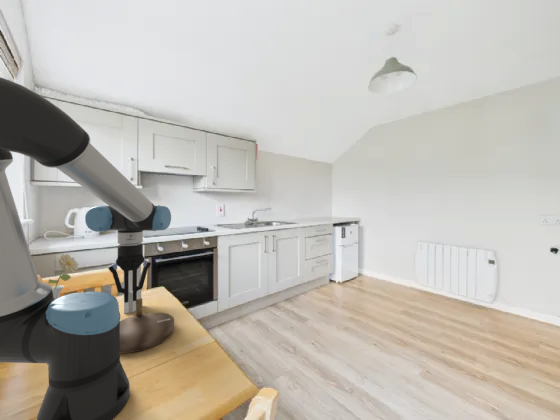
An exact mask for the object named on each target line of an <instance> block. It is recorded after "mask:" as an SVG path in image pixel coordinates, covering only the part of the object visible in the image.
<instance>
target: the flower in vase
mask: <svg viewBox="0 0 560 420" xmlns="http://www.w3.org/2000/svg"><path fill="white" fill-rule="evenodd" d="M58 265H59V266H60V269H61V271H60V273H59V277H58V279H57V280H54V279H49V280H48V283H47V284H55V285H53V286H51V288H52V291H53V294H54V298H55V299H57V298H59V297H61V292H62V290H63V289H64V288H65V285H63V284H61V285H58V283H60V282H59V281H60V280H62V281H65V282H67V281H69V280H70V279H71V275H69V274H76V271H79V263H78V262H77V261H76V260H75V257H71V255H70V254H67V253H66V254H64V253H62V255H60V257H59V258H58ZM63 271H64V272H65V273H63ZM68 273H69V274H68Z"/></svg>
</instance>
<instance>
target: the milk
mask: <svg viewBox="0 0 560 420" xmlns="http://www.w3.org/2000/svg"><path fill="white" fill-rule="evenodd" d="M141 274H142V264H141V265H140V267H139V268H138V269H137V286H138V285H139V281H140V277H141ZM128 291H132V270H130V271H129V274H128ZM138 298H142V289H141V290H138V291H137V299H138ZM123 313H124V314H128V313H131V312H128V302H126V303H125V302H124V301H123ZM132 313H136V301H133V312H132Z"/></svg>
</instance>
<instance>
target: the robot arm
mask: <svg viewBox="0 0 560 420" xmlns="http://www.w3.org/2000/svg"><path fill="white" fill-rule="evenodd" d="M13 153H17V154H21V155H24V156H26V157H29V158H31V159H32V160H34V161H36V162H37V163H39V164H40V165H42V166H44V167H46V168H51V169H53V168H56V169H57V170H59V172H61V173H63V174H64V175H65V176H67V177H68V178H70V179H71V180H73V181H74V182H75V183H77V184H78V185H80V186H81V187H83V188H84V189H85V190H87V192H90V193H91V194H92V195H94V196H96V198H97V199H99V200H101V201H102V202H103V203H105V204H106V205H98V206H93V207H91V208H89V209H88V210H87V211H86V214H84V215H85V216H84V221H85V224H86V227H87V228H88V229H89V230H91V231H93V232H98V233H99V232H104V233H105V232H108V231H117V244H118V246H117V257H116V260H115V262H114V263H112V264H109V265H108V270H109V272H110V273H111V274H112V278H113V280H114V283H115V286H116V289H117V292H118V294H123V303H124V302H125V303H126V302H128V312H130V313H134V312H133V301H136V299H137V291H138V290H141V291H142V290H143V287H144V284H145V280H146V276H147V272H148V271H149V270H148V269H149V268H150V267H151V265H152V262H151V261H149V260H147V259H145V257H144V253H143V252H144V244H143V242H144V241H143V240H144V232H145V231H151V232H156V231H165V230H167V229H168V228H169V226H170V225H171V222H172V213H171V210H170V208H168V207H167V206H165V205H155V204H154V203H153V202H151V200H149V199H148V197H146V196H145V194H144V193H142V192H141V191H140V190H139V189H138V188H137V187H136V186H135V185H134V184H133V183H132V182H131V181H130V180H129V179H128V178H127V177H126V176H125V175H123V173H121V172H120V171H119V169H117V168H116V167H115V166H114V165H113V164H112V163H111V162H110V161H109V160H108V158H106V157H105V156H104V155H103V154H102V153H100V151H98V149H96V147H95V146H94V145H92V144H91V137H90V135H89V133H88V132H87V131H86V130H85V129H84V128H83V127H82V126H81V125H80V124H79V123H77V122H76V121H75V120H74V119H73V118H72V117H71V116H70V115H68V114H67V112H65V111H64V110H62V109H61V108H60V107H58V106H57V105H55V104H54V103H52V102H51V101H50V100H48V99H46V98H44V97H43V96H42V95H40V94H39V93H37V92H35V91H33V90H31V89H29V88H27V87H26V86H24V85H22V84H21V83H20V84H19V83H17V82H14V81H13V80H10V79H7V78H5V77H4V78H3V77H2V76H1V77H0V363H3V364H4V363H12V364H14V363H17V364H21V363H22V364H47V365H48V367H47V368H48V370H47V371H48V373H47V374H48V385H47V389H46V391H45V395H44V397H43V400H42V402H41V406H40V408H39V411H38V414H37V417H36V420H113V419H114V418H115V417H116V416H117V415H118V414H120V412H121V411H122V410H123V409H124V408H125V406H126V404H127V403H128V401H129V398H130V392H131V391H130V389H131V387H130V380H129V378H128V376H127V373H126V371H125V369H124V367H123V364H122V363H121V355H120V354H121V353H120V321H121V312H120V307H119V305H120V304H119V301H118V299H117V297H116V296H114V295H112V294H111V293H107V292H104V291H86V292H74V293H68V294H65V295H61V296H60V297H59V298H57V299H55V298H54V294H53V291H52V288H51V287H52V286H51V285H50V283H47V282H42V281H40V280H39V277H38V273H37V270H36V268H35V267H36V266H35V264H34V261H33V257H32V254H31V251H30V248H29V245H28V242H27V237H26V235H25V232H24V227H23V226H22V222H21V219H20V215H19V211H18V209H17V206H16V202H15V200H14V199H15V198H14V196H13V192H12V191H11V190H12V189H11V187H10V183H9V181H8V177H7V173H6V169H7V168H8V167H9V166H10V165H11V164H12V163H13V162H14V158H13ZM143 231H144V232H143ZM140 265H141V266H143V267H142V269H141V277H140V281H139V285H138V286H137V269H138V268H139V267H140ZM118 267H119V268H120V269H121V270H122V271H123V287H122V285H121V284H122V283H121V281H120V276H119V275H118V271H117V270H118ZM130 270H132V291H128V274H129V271H130Z"/></svg>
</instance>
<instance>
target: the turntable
mask: <svg viewBox="0 0 560 420" xmlns="http://www.w3.org/2000/svg"><path fill="white" fill-rule="evenodd" d="M174 332H175V317H174V316H172V315H171V314H168V313H164V312H148V313H143V298H142V297H141V298H138V299H136V311H135V315H132V316H130V317H129V316H128V317H126V318H123V319H120V354H127V353H128V354H129V353H134V352H136V353H137V352H140V351H143V350H147V349H150V348H152V347H155V346H157V345H159V344H161V343H162V342H165V341H166V340H167V339H169V338H170V337H172V335H173V333H174Z"/></svg>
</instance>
